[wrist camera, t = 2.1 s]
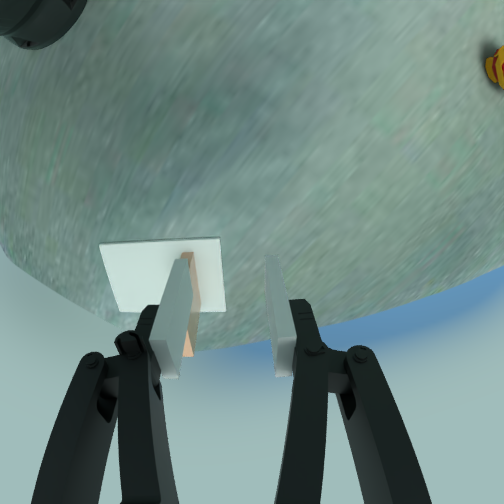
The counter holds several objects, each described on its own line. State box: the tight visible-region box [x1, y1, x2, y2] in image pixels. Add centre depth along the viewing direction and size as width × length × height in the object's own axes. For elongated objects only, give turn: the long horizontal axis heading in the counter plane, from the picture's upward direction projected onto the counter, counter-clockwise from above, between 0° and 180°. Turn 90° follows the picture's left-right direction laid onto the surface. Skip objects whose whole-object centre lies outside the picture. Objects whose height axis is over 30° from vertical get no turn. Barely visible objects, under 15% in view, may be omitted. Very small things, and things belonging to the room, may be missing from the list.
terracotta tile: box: [179, 252, 201, 357], centre depth 41 cm, size 2×10×12 cm, turn 1°
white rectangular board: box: [99, 237, 226, 312], centre depth 46 cm, size 20×14×1 cm
